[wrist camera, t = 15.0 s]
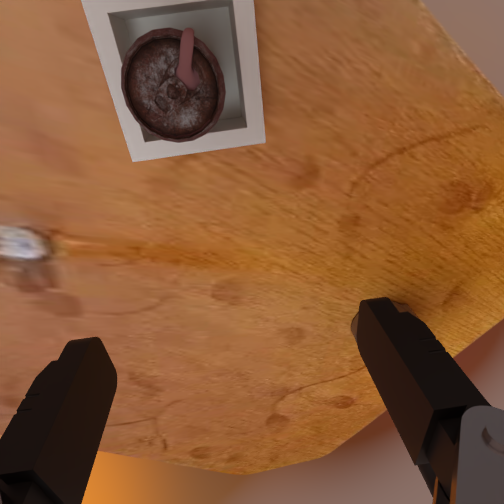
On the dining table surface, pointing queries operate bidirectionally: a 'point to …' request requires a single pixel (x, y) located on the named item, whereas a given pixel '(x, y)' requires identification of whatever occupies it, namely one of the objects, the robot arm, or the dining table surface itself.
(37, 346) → the dining table surface
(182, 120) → the can
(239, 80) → the well
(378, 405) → the dining table surface
